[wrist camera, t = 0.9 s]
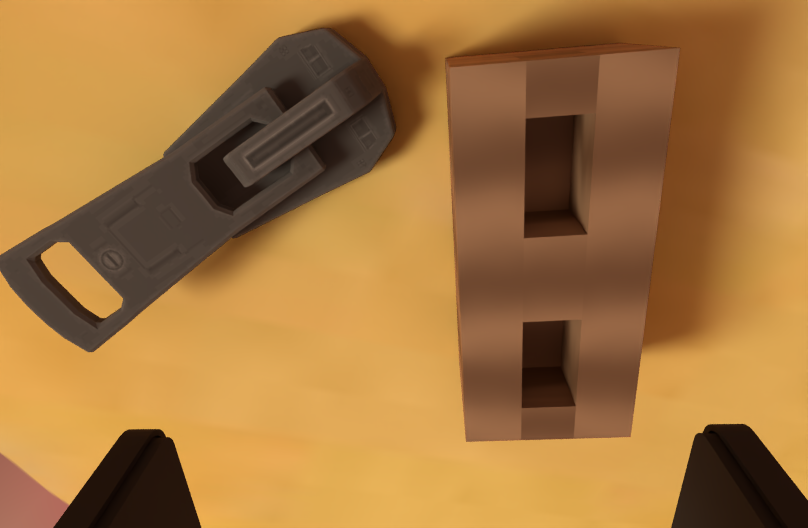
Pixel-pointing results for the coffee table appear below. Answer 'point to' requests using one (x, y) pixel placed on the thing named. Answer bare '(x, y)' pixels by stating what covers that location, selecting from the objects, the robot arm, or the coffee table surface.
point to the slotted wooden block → (555, 232)
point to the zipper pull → (217, 181)
